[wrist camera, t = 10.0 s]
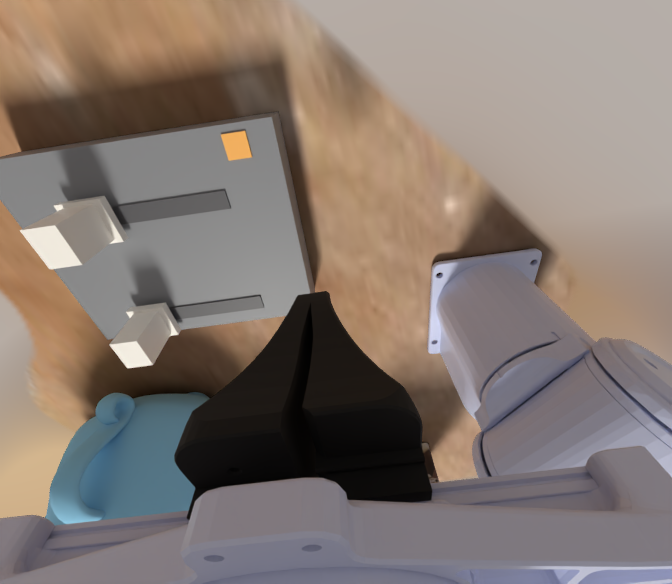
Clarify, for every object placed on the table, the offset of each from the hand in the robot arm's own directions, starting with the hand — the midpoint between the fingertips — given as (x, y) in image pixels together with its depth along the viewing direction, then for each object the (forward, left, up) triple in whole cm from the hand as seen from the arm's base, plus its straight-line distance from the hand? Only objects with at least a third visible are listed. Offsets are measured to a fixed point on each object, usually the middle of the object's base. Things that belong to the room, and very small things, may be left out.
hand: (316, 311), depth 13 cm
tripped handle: (+4, +11, -6) cm, 13 cm away
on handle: (-4, +11, -6) cm, 13 cm away
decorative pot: (-20, +18, -10) cm, 29 cm away
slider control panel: (+1, +9, -9) cm, 13 cm away
